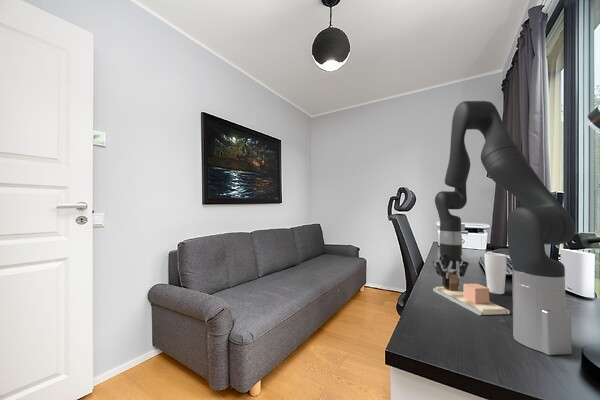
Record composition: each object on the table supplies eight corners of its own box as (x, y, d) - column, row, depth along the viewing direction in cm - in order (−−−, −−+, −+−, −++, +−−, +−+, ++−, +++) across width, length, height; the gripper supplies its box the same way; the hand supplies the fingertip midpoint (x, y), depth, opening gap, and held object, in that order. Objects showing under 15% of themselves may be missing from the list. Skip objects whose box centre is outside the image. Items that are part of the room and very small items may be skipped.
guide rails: (509, 314, 76) (509, 310, 76) (479, 315, 75) (479, 311, 75) (457, 290, 98) (457, 287, 98) (433, 291, 97) (433, 287, 97)
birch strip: (506, 314, 76) (506, 289, 76) (482, 314, 75) (482, 290, 76) (454, 290, 98) (454, 271, 98) (435, 290, 97) (435, 271, 97)
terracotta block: (489, 303, 80) (489, 288, 81) (475, 304, 80) (475, 288, 80) (476, 298, 85) (476, 283, 86) (463, 298, 85) (463, 283, 85)
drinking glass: (481, 290, 98) (480, 253, 99) (490, 288, 101) (490, 252, 102) (500, 296, 92) (500, 256, 93) (510, 294, 95) (510, 255, 95)
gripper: (440, 244, 91) (440, 291, 90) (474, 244, 92) (475, 290, 92) (427, 241, 98) (427, 284, 98) (459, 241, 100) (460, 284, 99)
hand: (450, 287), depth 95 cm, fingers closed on birch strip, 3 cm apart
